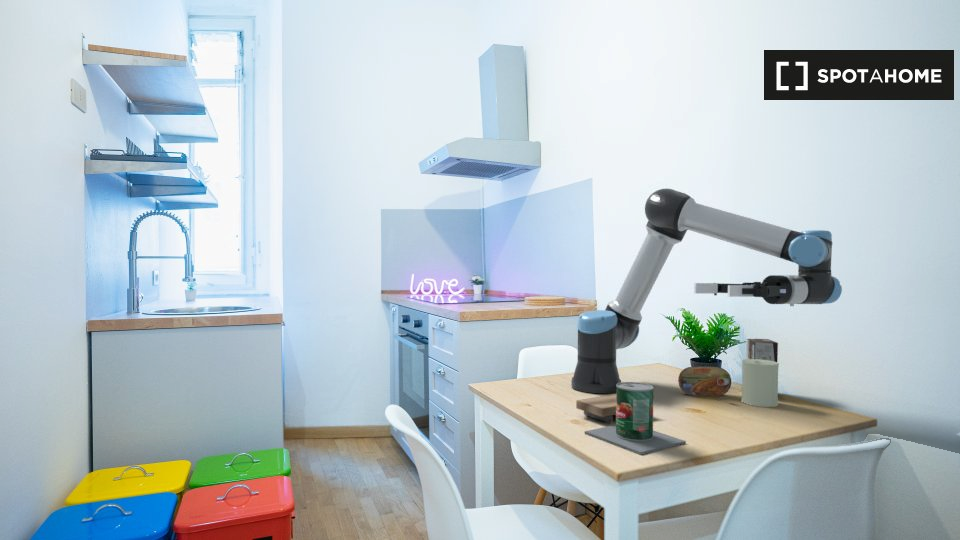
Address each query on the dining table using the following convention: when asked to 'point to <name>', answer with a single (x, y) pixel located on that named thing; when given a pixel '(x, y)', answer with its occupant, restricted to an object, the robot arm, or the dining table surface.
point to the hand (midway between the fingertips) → (710, 289)
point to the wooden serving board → (599, 407)
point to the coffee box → (762, 349)
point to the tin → (704, 381)
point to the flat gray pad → (640, 448)
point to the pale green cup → (760, 382)
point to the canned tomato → (634, 411)
